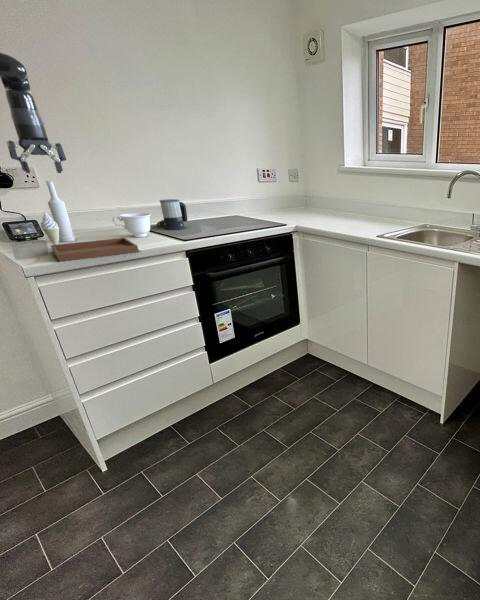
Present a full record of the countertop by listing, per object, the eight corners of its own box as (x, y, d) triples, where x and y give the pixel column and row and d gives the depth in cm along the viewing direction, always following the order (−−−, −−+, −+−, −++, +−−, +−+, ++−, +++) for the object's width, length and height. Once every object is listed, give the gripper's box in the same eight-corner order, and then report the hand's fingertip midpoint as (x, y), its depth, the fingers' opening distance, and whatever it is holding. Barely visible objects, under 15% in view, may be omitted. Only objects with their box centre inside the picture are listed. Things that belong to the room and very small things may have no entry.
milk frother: (180, 230, 185) (174, 201, 179) (148, 229, 183) (141, 200, 177) (191, 225, 198) (186, 198, 193) (161, 225, 196) (155, 197, 190)
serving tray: (59, 261, 124) (57, 254, 123) (52, 251, 136) (50, 245, 135) (138, 251, 141) (137, 245, 140) (126, 243, 153) (125, 237, 152)
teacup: (116, 235, 167) (110, 214, 163) (153, 232, 176) (148, 212, 172) (118, 240, 158) (112, 217, 155) (157, 236, 168) (152, 215, 164)
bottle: (76, 239, 158) (58, 180, 148) (75, 241, 154) (57, 181, 145) (60, 240, 154) (41, 180, 145) (59, 242, 151) (40, 181, 142)
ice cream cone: (49, 248, 141) (36, 210, 136) (66, 246, 144) (54, 209, 139) (48, 250, 137) (35, 211, 132) (65, 249, 141) (53, 211, 135)
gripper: (52, 126, 130) (65, 172, 136) (-4, 121, 119) (13, 172, 125) (59, 125, 126) (72, 173, 132) (2, 121, 115) (20, 173, 121)
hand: (44, 172), depth 128 cm, fingers open, 8 cm apart
